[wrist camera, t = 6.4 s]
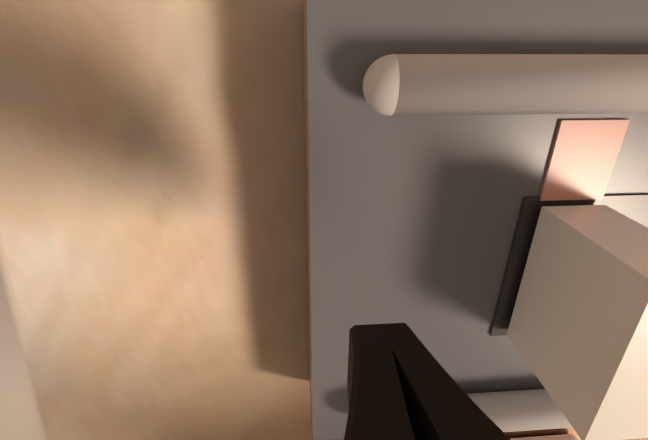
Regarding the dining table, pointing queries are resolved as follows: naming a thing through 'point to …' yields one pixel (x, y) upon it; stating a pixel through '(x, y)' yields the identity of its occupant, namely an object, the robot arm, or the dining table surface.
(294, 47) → the dining table surface
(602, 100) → the pair of cream rails
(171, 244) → the dining table surface
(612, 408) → the lever
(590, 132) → the box
